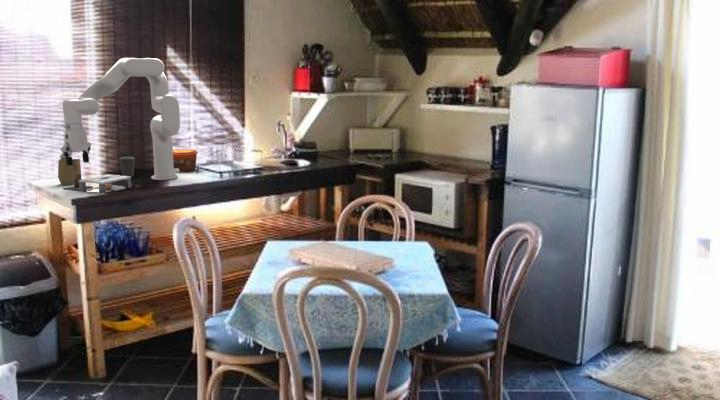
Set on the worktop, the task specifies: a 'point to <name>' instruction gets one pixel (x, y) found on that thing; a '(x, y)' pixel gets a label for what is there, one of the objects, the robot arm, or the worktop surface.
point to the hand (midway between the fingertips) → (78, 163)
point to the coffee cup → (127, 166)
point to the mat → (76, 188)
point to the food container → (184, 160)
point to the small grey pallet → (105, 182)
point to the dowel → (76, 172)
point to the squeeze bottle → (65, 172)
